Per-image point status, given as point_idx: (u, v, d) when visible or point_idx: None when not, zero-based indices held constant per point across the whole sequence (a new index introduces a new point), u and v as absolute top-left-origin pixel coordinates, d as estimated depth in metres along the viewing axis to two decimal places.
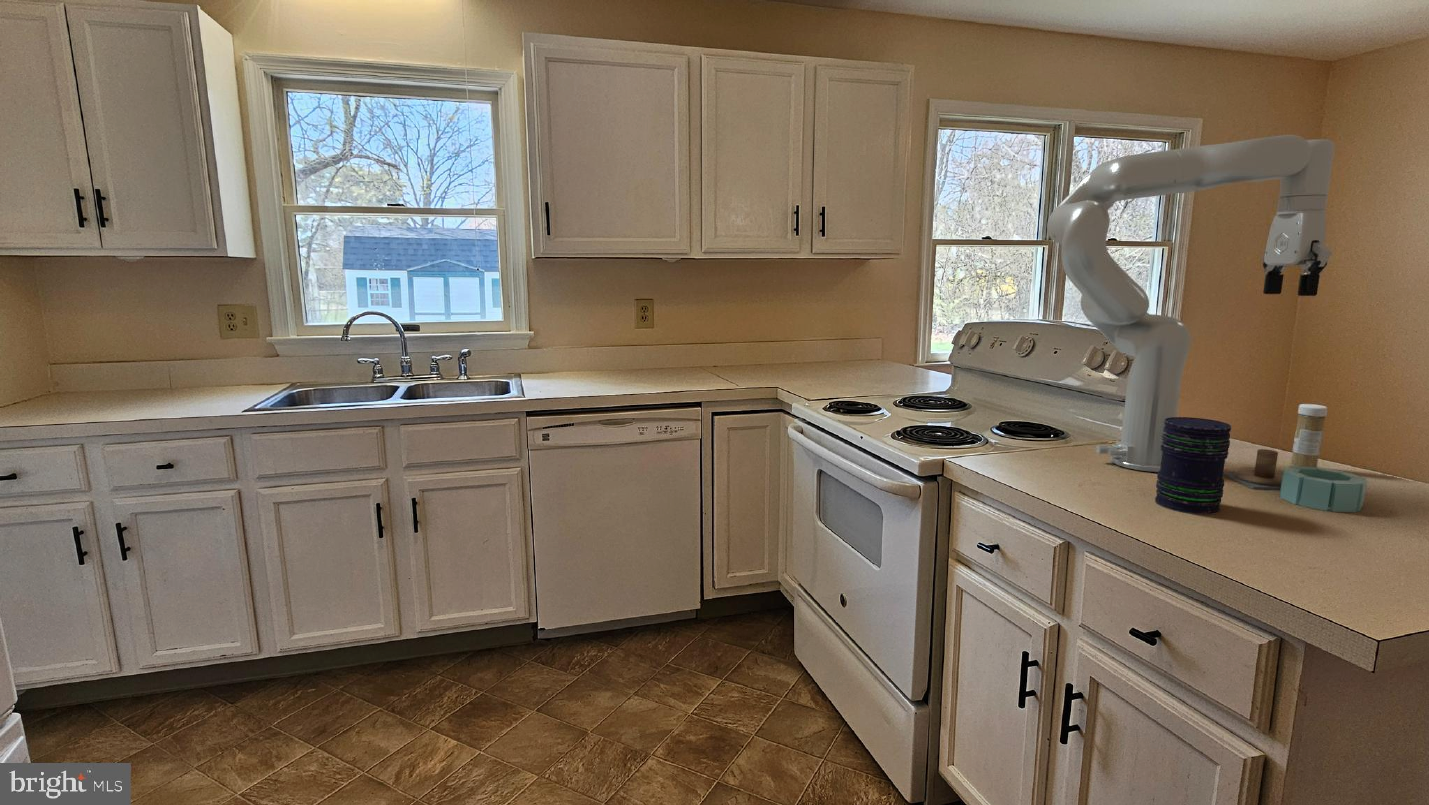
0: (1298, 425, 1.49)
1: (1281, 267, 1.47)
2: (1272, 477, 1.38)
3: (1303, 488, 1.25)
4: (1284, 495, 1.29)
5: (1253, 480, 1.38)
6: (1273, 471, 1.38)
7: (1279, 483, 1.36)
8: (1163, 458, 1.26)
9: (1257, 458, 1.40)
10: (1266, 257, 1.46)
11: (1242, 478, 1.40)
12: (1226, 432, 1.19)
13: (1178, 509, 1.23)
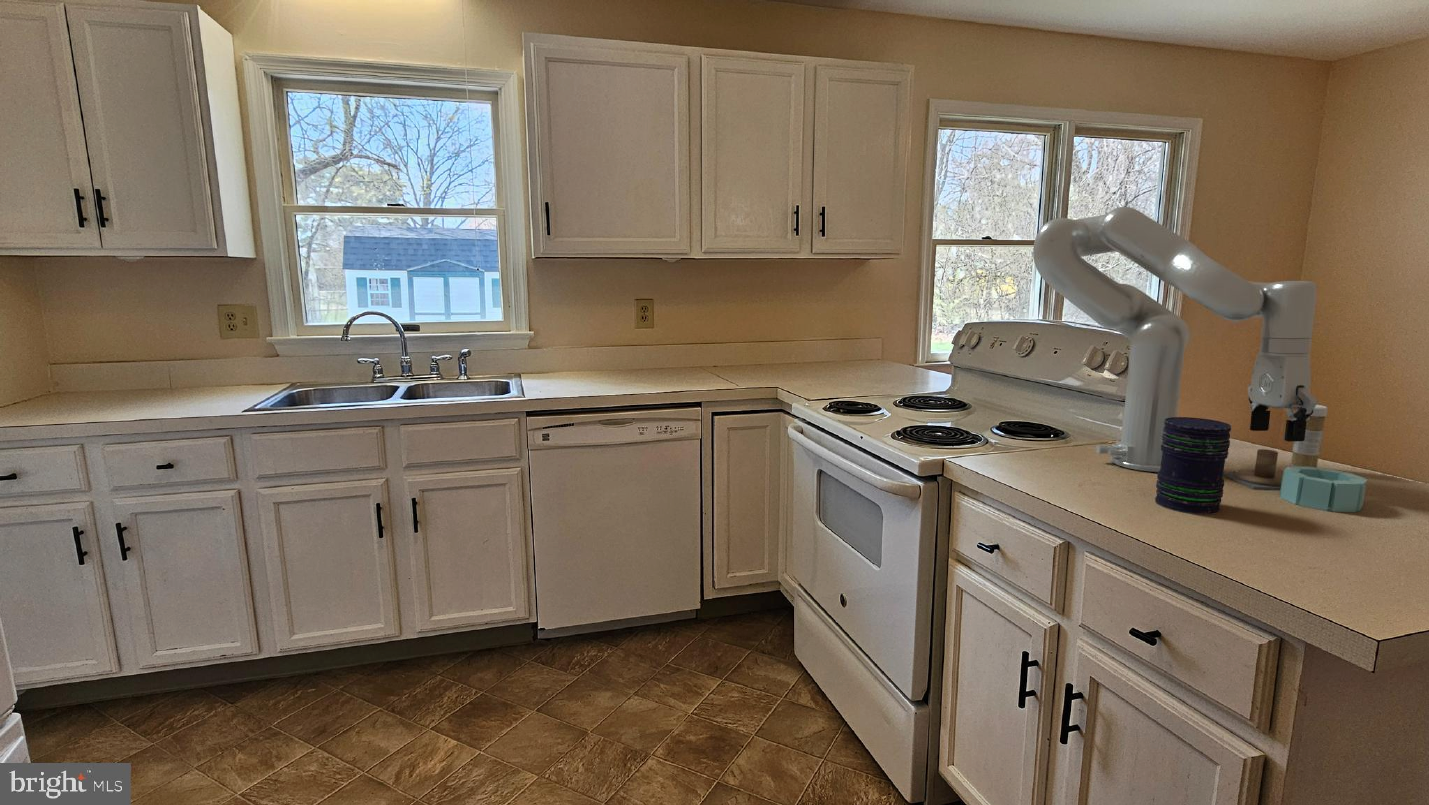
0: None
1: None
2: (1272, 477, 1.38)
3: (1303, 488, 1.25)
4: (1284, 495, 1.29)
5: (1253, 480, 1.38)
6: (1273, 471, 1.38)
7: (1279, 483, 1.36)
8: (1163, 458, 1.26)
9: (1257, 458, 1.40)
10: (1251, 394, 1.41)
11: (1242, 478, 1.40)
12: (1226, 432, 1.19)
13: (1178, 509, 1.23)
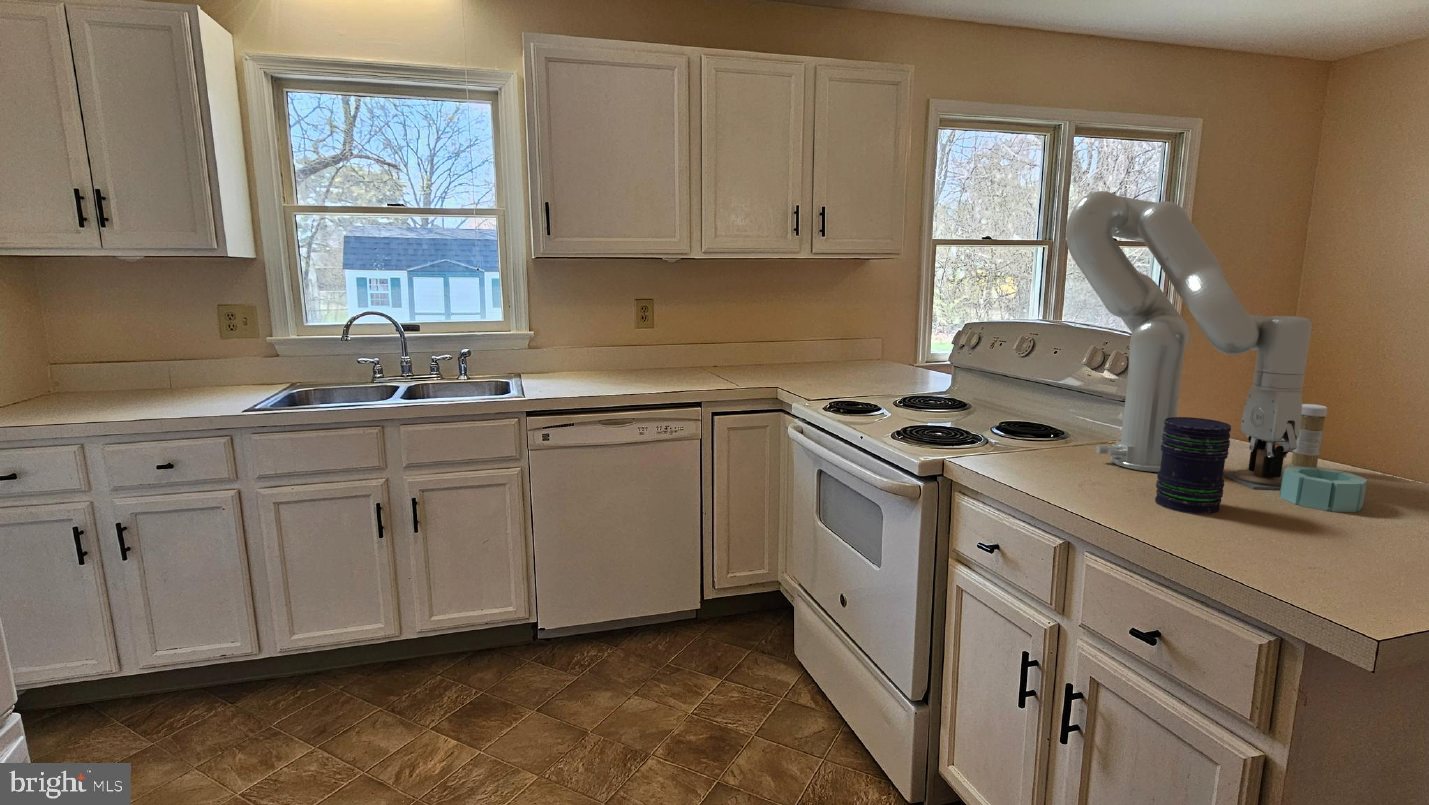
0: None
1: (1265, 442, 1.41)
2: (1272, 477, 1.38)
3: (1303, 488, 1.25)
4: (1284, 495, 1.29)
5: (1253, 480, 1.38)
6: None
7: (1279, 483, 1.36)
8: (1163, 458, 1.26)
9: (1257, 458, 1.40)
10: (1242, 426, 1.42)
11: (1242, 478, 1.40)
12: (1226, 432, 1.19)
13: (1178, 509, 1.23)
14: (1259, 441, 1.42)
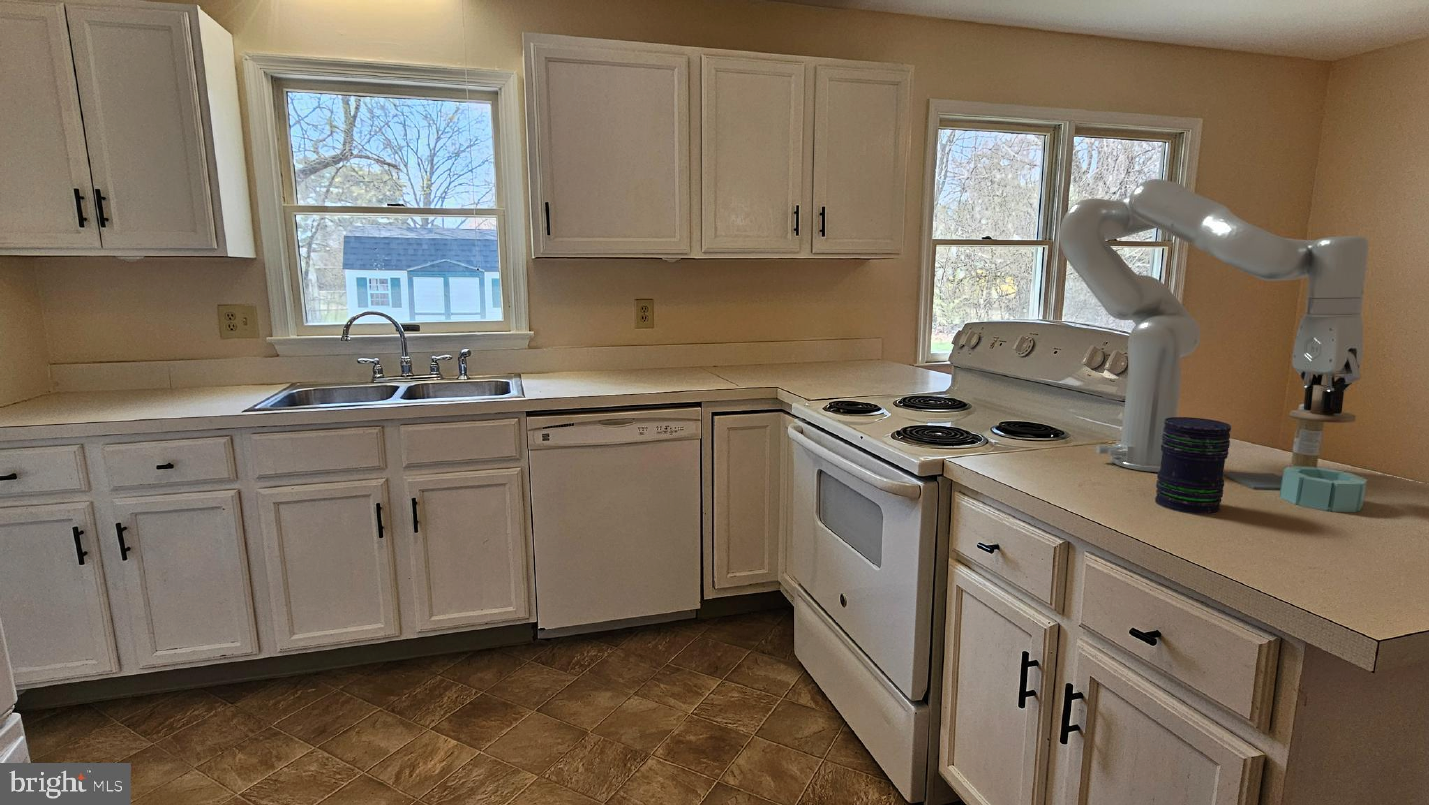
0: (1298, 425, 1.49)
1: (1321, 377, 1.29)
2: (1332, 414, 1.27)
3: (1303, 488, 1.25)
4: (1284, 495, 1.29)
5: (1312, 417, 1.26)
6: None
7: (1341, 418, 1.24)
8: (1163, 458, 1.26)
9: (1314, 394, 1.28)
10: (1294, 361, 1.31)
11: (1299, 417, 1.28)
12: (1226, 432, 1.19)
13: (1178, 509, 1.23)
14: (1313, 377, 1.30)
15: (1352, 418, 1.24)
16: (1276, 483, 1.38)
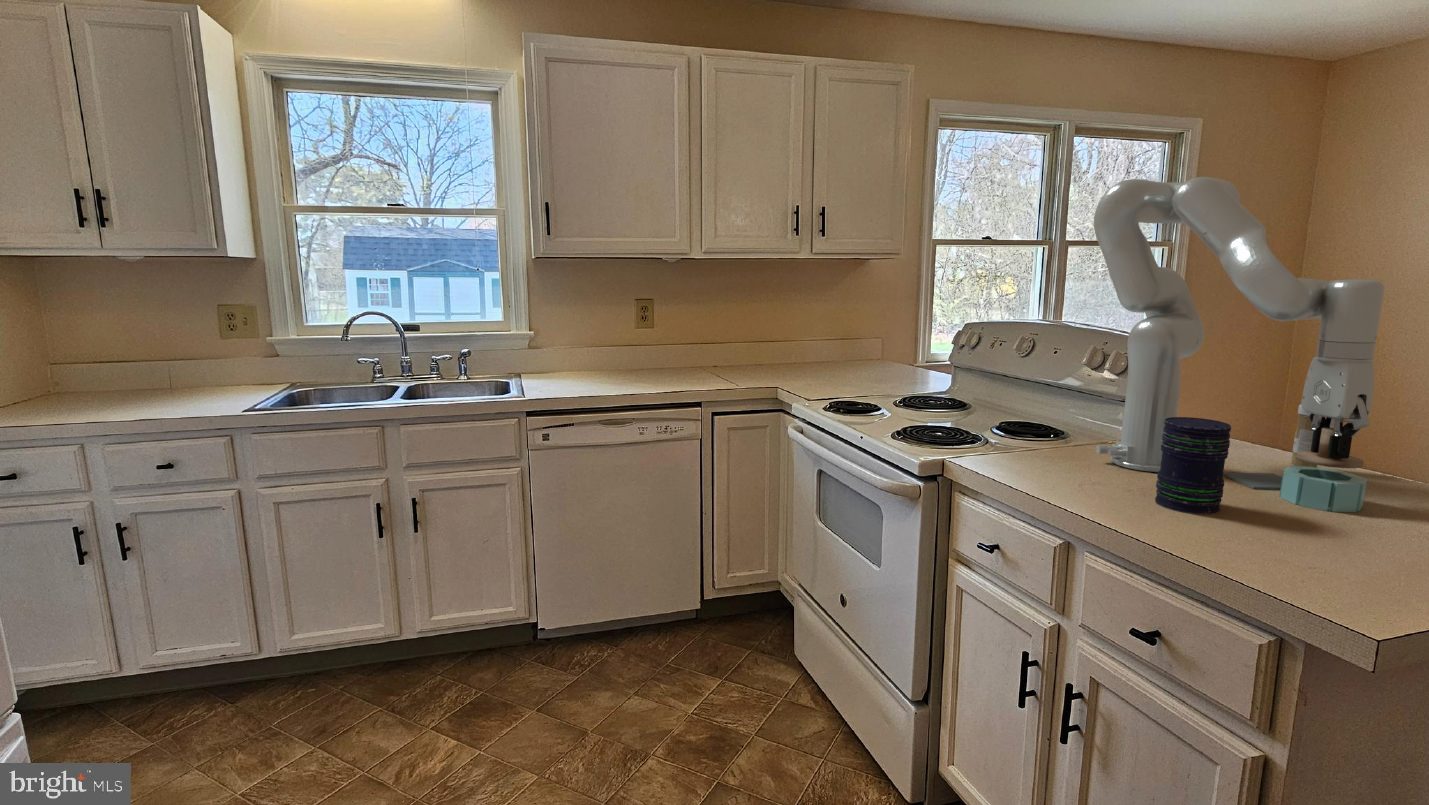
0: (1298, 425, 1.49)
1: (1329, 420, 1.27)
2: (1339, 458, 1.25)
3: (1303, 488, 1.25)
4: (1284, 495, 1.29)
5: (1318, 461, 1.24)
6: None
7: (1348, 464, 1.22)
8: (1163, 458, 1.26)
9: (1322, 437, 1.26)
10: (1303, 403, 1.29)
11: (1305, 460, 1.26)
12: (1226, 432, 1.19)
13: (1178, 509, 1.23)
14: (1322, 419, 1.28)
15: (1359, 464, 1.22)
16: (1276, 483, 1.38)
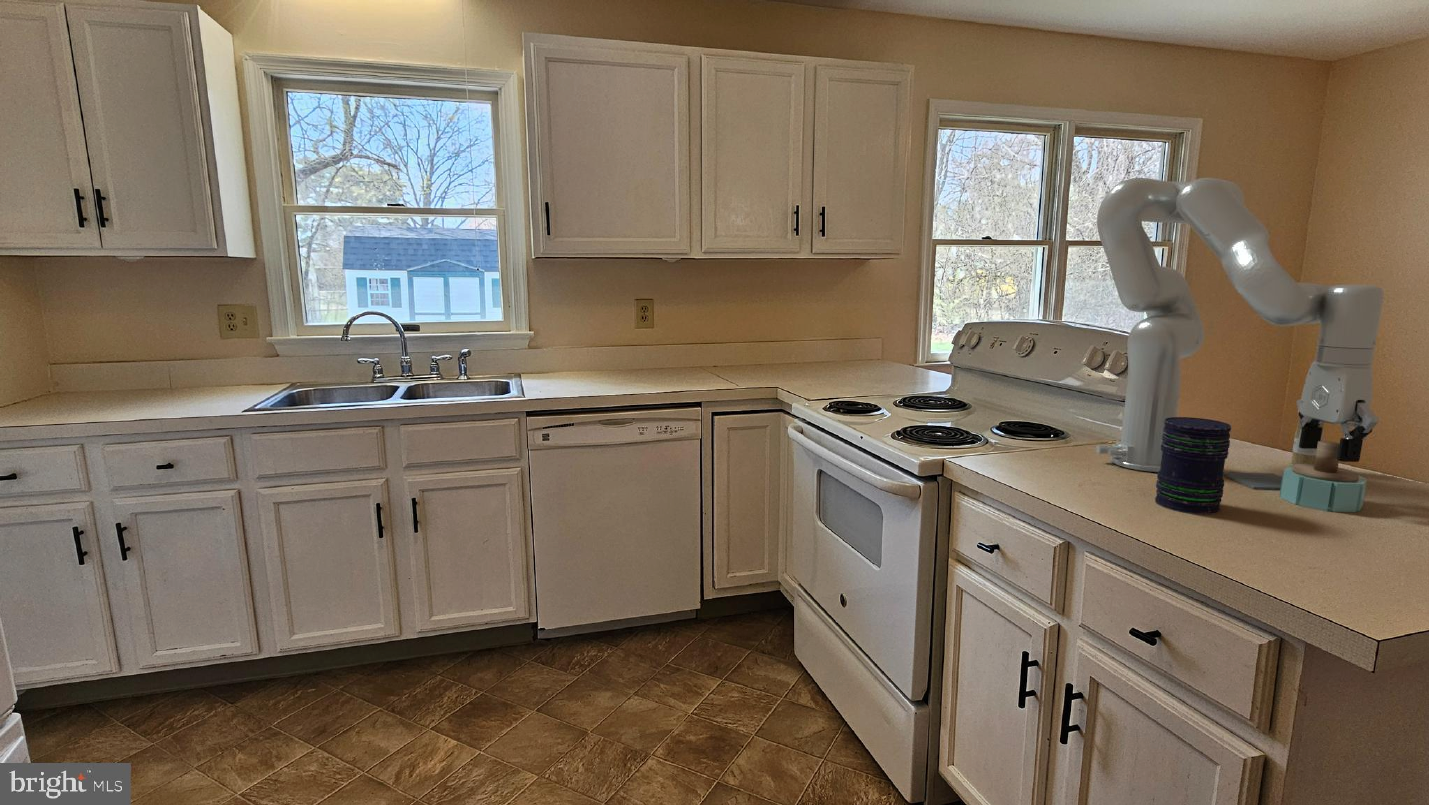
0: (1298, 425, 1.49)
1: None
2: (1335, 471, 1.26)
3: (1303, 488, 1.25)
4: (1284, 495, 1.29)
5: (1314, 475, 1.25)
6: (1336, 465, 1.25)
7: (1344, 478, 1.23)
8: (1163, 458, 1.26)
9: (1318, 451, 1.27)
10: (1302, 407, 1.29)
11: (1301, 473, 1.27)
12: (1226, 432, 1.19)
13: (1178, 509, 1.23)
14: None
15: (1355, 478, 1.23)
16: (1276, 483, 1.38)
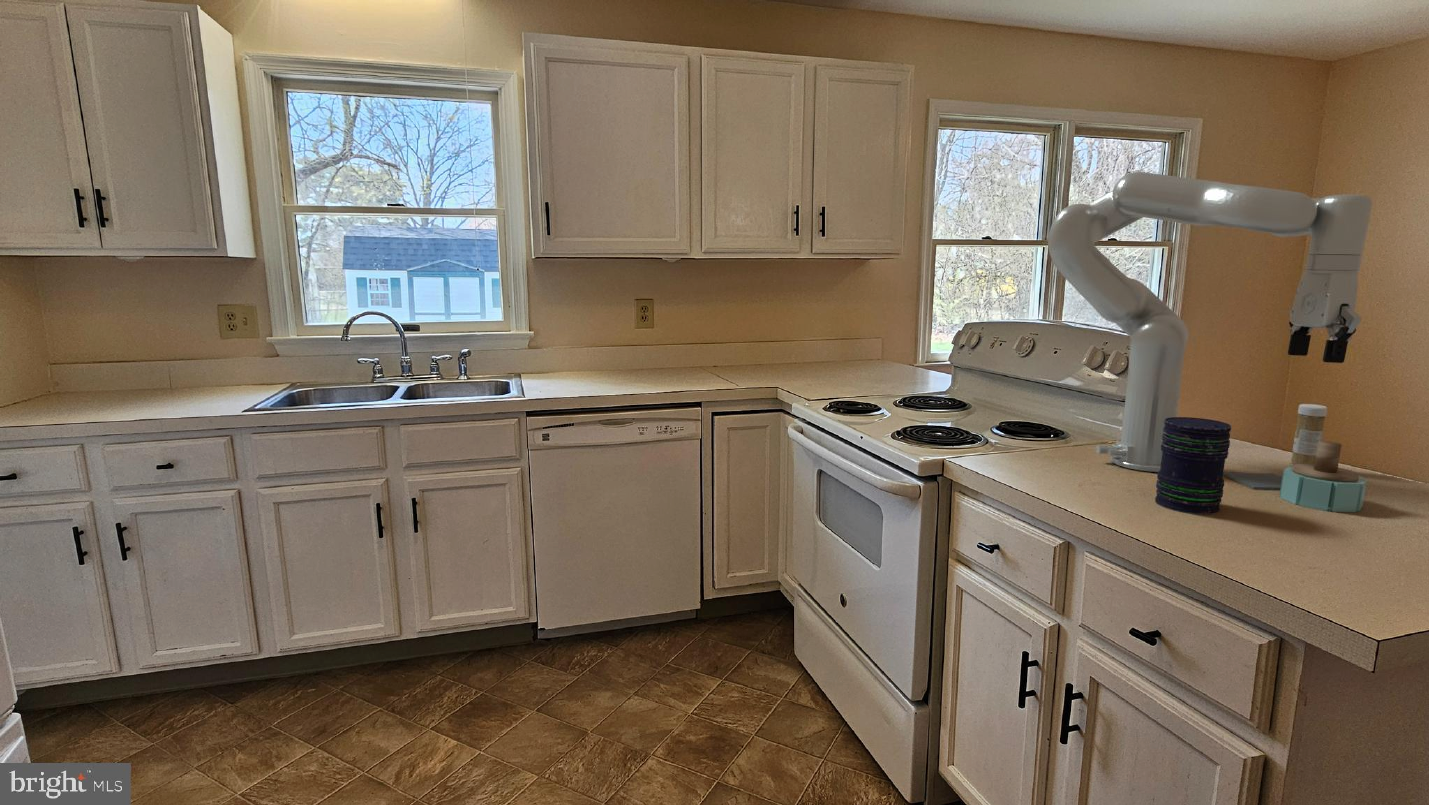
0: (1298, 425, 1.49)
1: (1308, 327, 1.36)
2: (1335, 471, 1.26)
3: (1303, 488, 1.25)
4: (1284, 495, 1.29)
5: (1314, 475, 1.25)
6: (1336, 465, 1.25)
7: (1344, 478, 1.23)
8: (1163, 458, 1.26)
9: (1318, 451, 1.27)
10: (1292, 316, 1.36)
11: (1301, 473, 1.27)
12: (1226, 432, 1.19)
13: (1178, 509, 1.23)
14: None
15: (1355, 478, 1.23)
16: (1276, 483, 1.38)
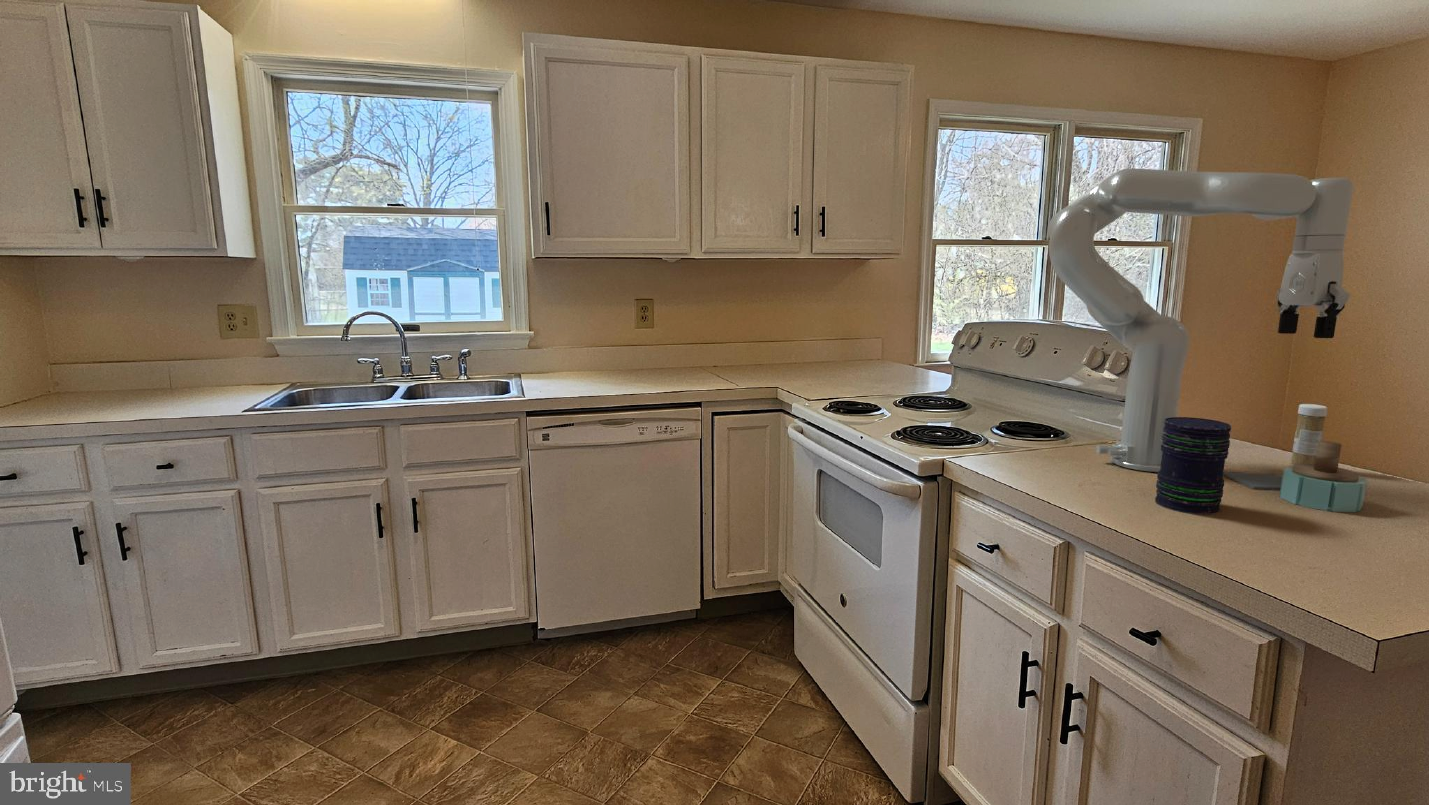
0: (1298, 425, 1.49)
1: (1296, 306, 1.43)
2: (1335, 471, 1.26)
3: (1303, 488, 1.25)
4: (1284, 495, 1.29)
5: (1314, 475, 1.25)
6: (1336, 465, 1.25)
7: (1344, 478, 1.23)
8: (1163, 458, 1.26)
9: (1318, 451, 1.27)
10: (1281, 296, 1.42)
11: (1301, 473, 1.27)
12: (1226, 432, 1.19)
13: (1178, 509, 1.23)
14: None
15: (1355, 478, 1.23)
16: (1276, 483, 1.38)
